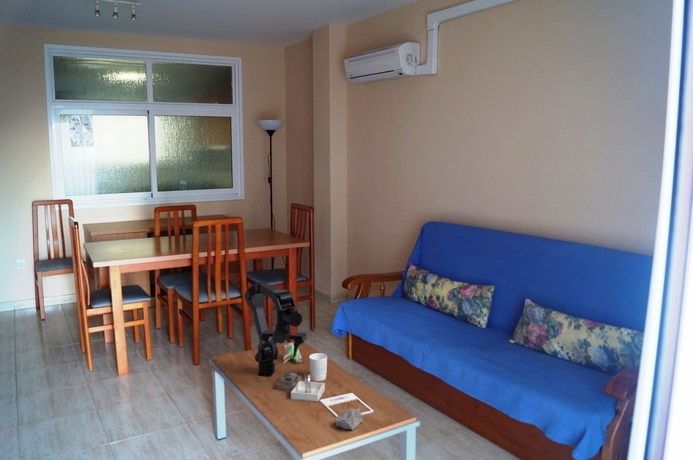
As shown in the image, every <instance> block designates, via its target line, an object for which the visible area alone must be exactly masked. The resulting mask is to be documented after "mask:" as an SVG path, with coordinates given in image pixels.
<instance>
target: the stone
mask: <svg viewBox="0 0 693 460" xmlns="http://www.w3.org/2000/svg"><path fill="white" fill-rule="evenodd" d="M361 413H362V411H361V407H357V408H350V409H346V410H344V411H343V412H342V413H339V415H338V417H336V418H335V424H336V425H335V426H336V427H340V428H341V429H345V430H351V431H353V430H355V428H357V427H359V425H360V424H361V423H363V422H364V419H363V417H362V416H363V415H361Z"/></svg>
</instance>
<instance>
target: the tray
mask: <svg viewBox="0 0 693 460" xmlns="http://www.w3.org/2000/svg"><path fill="white" fill-rule="evenodd" d="M325 385H326V383H324V382H316V381H315V382H314V381H311V393H305V380H304V381H303V380H302V381H299V382H298V383H297V385H296V386H295V387H294V389H293V390H292V391H290V400H293V401H294V400H295V401H302V402H303V401H305V402H315V403H318V402H320V400H321V399H320V398H322V396H323V394H324V392H325V390H326V386H325Z"/></svg>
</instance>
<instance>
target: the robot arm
mask: <svg viewBox="0 0 693 460" xmlns="http://www.w3.org/2000/svg"><path fill="white" fill-rule="evenodd" d="M243 296H244V300H245V302H246V305H247V306H248V307H249V308H250V309H251V310H252V314H253V319H254V323H255V327H256V331H257V335H258V340H259V342H258V344H257V353H256V354H254V360H255V362H256V363H258V373H257V374H256V375H257V376H260V377H272V376H273V375H274V373H275V372H276V362H275V361H276V360H278V356H279V349H278V345H277V344H284V343H285V341H289V340H293V342H292V343H293V344H294V357H293V358H295V356H296V353H297V350H298V348H299V347H300V345H302V344H304V343H305V342H306V341H307V340H308V337H307V336H308V335H307V334H306V332H296V334H292V330H291V327H294V328H297V327H299V326H300V325H301V324H302V322H303V317H302V314H301V313H299V309H297V302H296V300H295V298H294V296H293V294H292V292H291V291H290V290H287V289H279V288H277V287H275V286H273V285H271V284H269V283H268V282H267V281H265V280H263V281H262V280H261V281H257V282H255V283H254V284H253V285H252V286H251V287H248V288H247V290H246V291H245V292H244V294H243ZM265 296H266V297H268V298H269V299H271V302H272V303H273V304H274V307H273V308H274V309H275V310H276V311H275V312H276V324H275V329H274V330H269V327H268V323H267V319H266V318H267V317H266V314H265V312H264V303H265Z"/></svg>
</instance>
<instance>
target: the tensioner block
mask: <svg viewBox="0 0 693 460" xmlns="http://www.w3.org/2000/svg"><path fill="white" fill-rule="evenodd" d="M302 379H303V377H302V375H298V374H297V373H295V372H288V373H285V374H283V375H282V376H281V378H280V379H279V380H278V381H277V383H275V387H276V388H275V389H276V391H285V392H286V391H287V392H292V390H293V389H294V387H295V386H296V385H297V383H298V382H299V381H303V380H302Z"/></svg>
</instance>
